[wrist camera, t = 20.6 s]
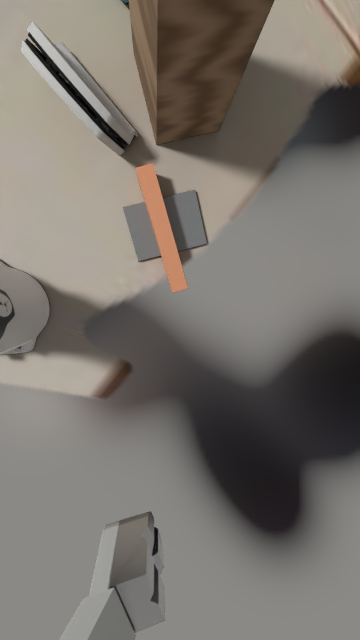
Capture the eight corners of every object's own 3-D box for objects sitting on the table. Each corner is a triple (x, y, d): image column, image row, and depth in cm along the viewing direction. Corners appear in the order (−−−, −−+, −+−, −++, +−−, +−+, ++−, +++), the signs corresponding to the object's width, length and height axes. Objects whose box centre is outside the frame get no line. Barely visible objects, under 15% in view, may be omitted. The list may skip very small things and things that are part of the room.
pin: (171, 291, 44) (173, 292, 41) (137, 175, 40) (135, 167, 37) (185, 287, 44) (188, 288, 42) (153, 171, 40) (152, 163, 37)
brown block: (156, 144, 40) (158, -94, 14) (133, 53, 37) (85, -449, 11) (218, 130, 40) (326, -122, 15) (201, 39, 38) (297, -463, 12)
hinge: (140, 136, 39) (118, 110, 30) (124, 159, 41) (98, 141, 32) (66, 47, 36) (16, -12, 27) (52, 76, 38) (1, 31, 29)
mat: (138, 261, 43) (138, 261, 43) (123, 208, 41) (122, 207, 40) (206, 243, 44) (206, 243, 43) (194, 190, 42) (195, 189, 41)
